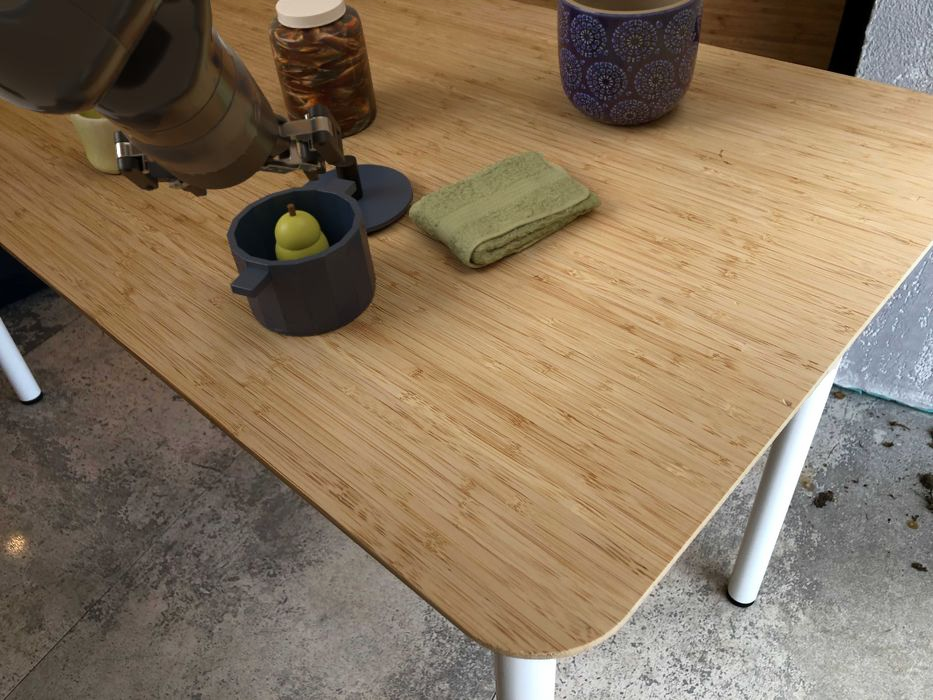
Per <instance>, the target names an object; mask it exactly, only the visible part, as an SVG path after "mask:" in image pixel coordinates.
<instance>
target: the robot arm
mask: <svg viewBox="0 0 933 700" xmlns="http://www.w3.org/2000/svg"><path fill="white" fill-rule="evenodd" d="M222 37H223V36H221V34H220V33H219V31H218V30H217V28H216V27H215V25H214V24H213V6H212V0H0V99H2V100H4V101H6V102H8V103H9V104H12V105H14V106H17V107H19V108H22V109H24V110H26V111H31V112H34V113H38V114H43V115H51V116H70V115H74V114H79V113H82V112H86V111H88V110H90V109H92V108H93V109H94V110H95V111H96V112H98V113H99V114H100V115H102V116H103V117H105V118H106V119H108V120H109V121H110V122H111V123H113V124H114V125H115V126H117V127H118V128H119V129H120V131H117V132H114V133H113V135H114V143H115V152H116V159H117V166H118V172H120V173H119V174H121V175H122V176H123V177H125V178H126V179H128V180H129V181H130V183H133V185H135V186H136V187H138V188H139V189H141V190H143V191H146V192H147V191H148V192H153V191H155V190H158V189H159V188H160V186H159V183H168V188H170V189H174V190H182V191H183V192H186V193H187V192H188V193H191V194H192V195H193V196H195V197H197V198H198V197H206V196H207V195H208V190H213V191H214V190H216V191H217V190H224V189H229V188H233V187H236V186H238V185H240V184H243V183H244V182H246V181H248V180H249V179H251V178H253V176H254V175H256V173H258V172H259V173H260V172H266V173H273V174H279V175H287V174H289V173H292V172H295V171H297V170H299V171H302V172H303V174H304V175H305V177H306V178H307V179H308V181H310V182H311V181H318V180H319V175H320V174H325V173H326V172H327V167H326V164H327V165H328V166H333V167H335V166H339V165H340V164H343V163H345V158H344V155H345V152H344V144H343V137H341V129H340V127H339V125H338V124H337V122H336V120H335V119H334V117H333V116H332V114H331V113H330V111H329V110H328V108H327V107H326V106H325V105H319V104H317V105H314V106H310V107H309V108H308V113H309V114H306V115H305V119H304V120H297V121H289V119H287V118H286V117H285V116H283V115H282V114H278V113H275V112H274V110H273V108H272V106H271V104H270V102H269V100H268V98H267V97H266V95H265V94H264V92H263V90H262V89H261V87H260V86H259V84H258V83H257V81H256V80H255V78H254V76H253V75H252V74H251V72H250V70H249V69H248V67H247V65H246V64H245V63H244V61H243V60H242V58H241V57H240V55H239V54H238V53H237V51H236V50H235V49H234V48H233V46H231V45H230V44H229V43H228V42H227V41H226V40H225V39H224V38H222ZM298 146H299V151H298ZM299 153H300V154H299ZM277 158H278V159H277Z"/></svg>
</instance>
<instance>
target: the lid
mask: <svg viewBox="0 0 933 700" xmlns="http://www.w3.org/2000/svg"><path fill="white" fill-rule="evenodd" d="M344 158H345V163H343V164H340V165H339V166H334V167H335V168H333V169H330V170H326V173H325V174H319V180H318V181H311V182H310V181H309V180H308V181H307V182H306V183H304V185H302V186H301V187H309V186H321V187H326V186H327V185H328V184H329V183H330V182H331V181H332V180H333V179H334V178H338V179H344V180H349V181H354V182H355V184H356V189H357V190H356V191H355V192H354V193H353V194H352V195H351V197H352V198H354V199H355V200H356V201H357V203H358V205H359V207H360V209H361V211H362V213H363V218H364V223H365V228H366V232H367V233H370V232H374V231H377V230H380V229H382V228H384V227H386V226H388V225H390V224H392V223H394V222H396V221H397V220H398V219H399V218H401V217H402V216H403V215H404V214H405V213H406V212H407V211H408V209H409V208H410V206H411V205H412V202H413V198H414V190H413V189H414V188H413V184H412V183H411V181H410V179H409V178H408V177H407V176H406V175H405V174H404V173H402V172H401V171H399V170H397V169H395V168H393V167H390V166H386V165H382V164H373V163H360V164H358V160H357V157H355V155H351V154H344Z"/></svg>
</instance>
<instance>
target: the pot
mask: <svg viewBox="0 0 933 700" xmlns="http://www.w3.org/2000/svg"><path fill="white" fill-rule="evenodd" d="M356 190H357V189H356V184H355V182H354V181H349V180H344V179H338V178H334V179H333V180H332V181H331V182H330V183H329V184H328V185H327V186H326V187H321V186H309V187H302V186H297V187H296V186H294V187H290V188H287V189H283V190H279V191H276V192H272V193H269V194H266V195H265V196H263V197H261V198H258V199H256V200H254V201H253V202H251V203H248V204H246V206H245V207H244V208H242V210H241V211H240V212H239V213H238V214H237V215H236V216H234V217H233V218H232V220H231V223H230V225H229V228H228V230H227V232H226V239H227V242H228V246H229V249H230V253H231V255H232V257H233V261H234V264H235V267H236V270H237V272H238V276H236V278H235V279H234V280H233V281H232V282H231V283H230V284H229V286H230V289H231V292H232V294H235V295H238V296H242V297H245V298H247V301H248V305H249V308H250V310H251V314H252V316H253V317H254V319H255V320H256V321H257V322H258V324H260V325H261V327H263V328H265V329H267V330H268V331H271V332H273V333H275V334H279V335H283V336H289V337H309V336H310V337H311V336H316V335H317V336H318V335H322V334H326V333H329V332H332V331H335V330H337V329H339V328H341V327H342V328H343V327H344V326H346V325H347V324H350V323H352V322H353V321H355V319H357V318H359V316H361V315H362V314H363V313H364V312H365V311H366V310H367V308H369V306H370V304H371V303H372V301H373V299H374V297H375V294H376V289H377V286H376V285H377V283H376V281H377V277H376V273H375V268H374V262H373V258H372V257H373V256H372V253H371V248H370V242H369V237H368V232H366V228H365V223H364V218H363V213H362V211H361V209H360V207H359V205H358V203H357V201H356V200H355V199H354V198H352V197H351V195H352V194H353V193H354V192H355V191H356ZM289 204H293V205H294V208H295V211H304V212H307V213H309V214H310V215H312V216H313V217H314V218H315V219H316V220H317V222H318V224H319V226H320V230H321V232H322V233H323V234H324V235H325V237H326V239H327V241H328V244H329V248H327V249H326V250H324V251H322V252H320V253H317V254H314V255H310V256H307V257H303V258H300V259H296V260H279V261H278V260H277V256H276V250H275V247H276V242H277V241H276V237H275V228H276V225H277V222H278V221H279V219H280V218H281V217H282V216H283V215H284V214H286V213H288V212H289V211H288V207H287V206H288V205H289Z"/></svg>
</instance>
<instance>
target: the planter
mask: <svg viewBox="0 0 933 700" xmlns="http://www.w3.org/2000/svg"><path fill="white" fill-rule="evenodd" d="M556 1H557V2H556V32H557V33H556V34H557V55H558V68H559V76H560V82H561V86H562V89H563V92H564V94H565V96H566V97H567V99H568V101H569V102H570V103H571V104H572V106H573V107H574V108H575V109H576V110H577V111H579V112H580V113H581V114H582V115H584V116H586V117H587V118H589V119H592V120H593V121H596V122H599V123H603V124H606V125H607V124H608V125H614V126H634V125H641V124H645V123H649V122H651V121H655V120H658V119H659V118H662V117H664V116H665V115H667V114H668V113H669V112H671V111H672V110H674V108H676V107H677V105H678V104H679V103H680V102H681V101H682V100H683V99H684V97H685V96H686V94H687V93H688V92H689V89H690V86H691V84H692V81H693V77H694V74H695V69H696V64H697V58H698V51H699V45H700V39H701V38H700V37H701V30H702V22H703V13H704V12H703V11H704V2H705V1H704V0H556Z"/></svg>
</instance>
